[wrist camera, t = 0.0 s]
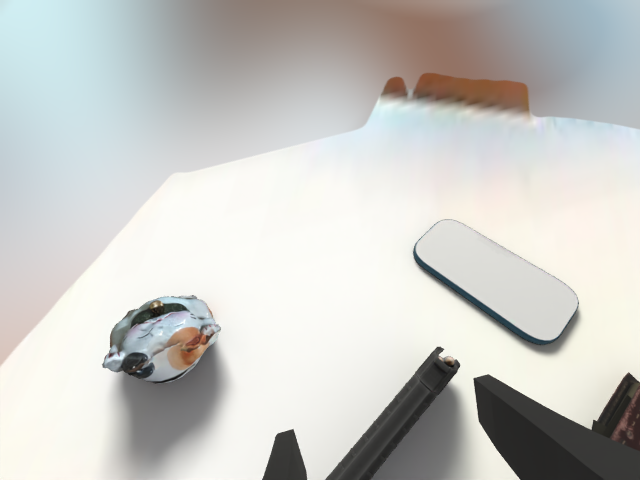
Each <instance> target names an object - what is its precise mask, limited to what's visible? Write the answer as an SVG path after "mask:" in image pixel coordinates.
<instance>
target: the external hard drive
mask: <svg viewBox="0 0 640 480" xmlns="http://www.w3.org/2000/svg"><path fill="white" fill-rule="evenodd" d="M413 254H414V257H415V260H416V261H417V262H418V263H419V264H420V265H421V266H422V267H423V268H424V269H426V270H427V271H428V272H430V273H431V274H433V275H434V276H435V277H437V278H438V279H440V280H441V281H442V282H444V283H445V284H447V285H448V286H450V287H451V288H452V289H454V290H455V291H457V292H458V293H459V294H461V295H462V296H464V297H465V298H466V299H468V300H469V301H471V302H472V303H473V304H475V305H476V306H478V307H479V308H480V309H482V310H483V311H485V312H486V313H488V314H489V315H490V316H492V317H493V318H495V319H496V320H497V321H499V322H500V323H502V324H503V325H504V326H506V327H507V328H509V329H510V330H511V331H513V332H514V333H516V334H517V335H519V336H520V337H522V338H524V339H526V340H527V341H530V342H532V343H535V344H549V343H552V342H553V341H555V340H556V339H558V338H559V336H560V335H561V334H562V332H563V331H564V329H565V328H566V326H567V325H568V323H569V322H570V320H571V319H572V317H573V315H574V314H575V312H576V310H577V308H578V304H579V302H578V298H577V296H576V294H575V293H574V291H573V290H572V289H571V288H570V287H569V286H567V285H566V284H565V283H563V282H562V281H560V280H559V279H557V278H555V277H554V276H552V275H550V274H548V273H547V272H545V271H543V270H542V269H540V268H538V267H536V266H535V265H533V264H531V263H530V262H528V261H526V260H524V259H523V258H521V257H519V256H518V255H516V254H514V253H512V252H511V251H509V250H507V249H506V248H504V247H502V246H500V245H499V244H497V243H495V242H493V241H492V240H490V239H488V238H487V237H485V236H483V235H481V234H480V233H478V232H476V231H475V230H473V229H471V228H469V227H468V226H466V225H464V224H462V223H460V222H458V221H455V220H450V219H445V220H441V221H439V222H437V223H436V224H435V225H434V226H433V227H432V228H431V229H430V230H429V231H428V232H427V233H426V234H425V235H423V236H422V237H421V238H420V239H419V240H418V242H417V243H416V245H415V247H414V251H413Z"/></svg>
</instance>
